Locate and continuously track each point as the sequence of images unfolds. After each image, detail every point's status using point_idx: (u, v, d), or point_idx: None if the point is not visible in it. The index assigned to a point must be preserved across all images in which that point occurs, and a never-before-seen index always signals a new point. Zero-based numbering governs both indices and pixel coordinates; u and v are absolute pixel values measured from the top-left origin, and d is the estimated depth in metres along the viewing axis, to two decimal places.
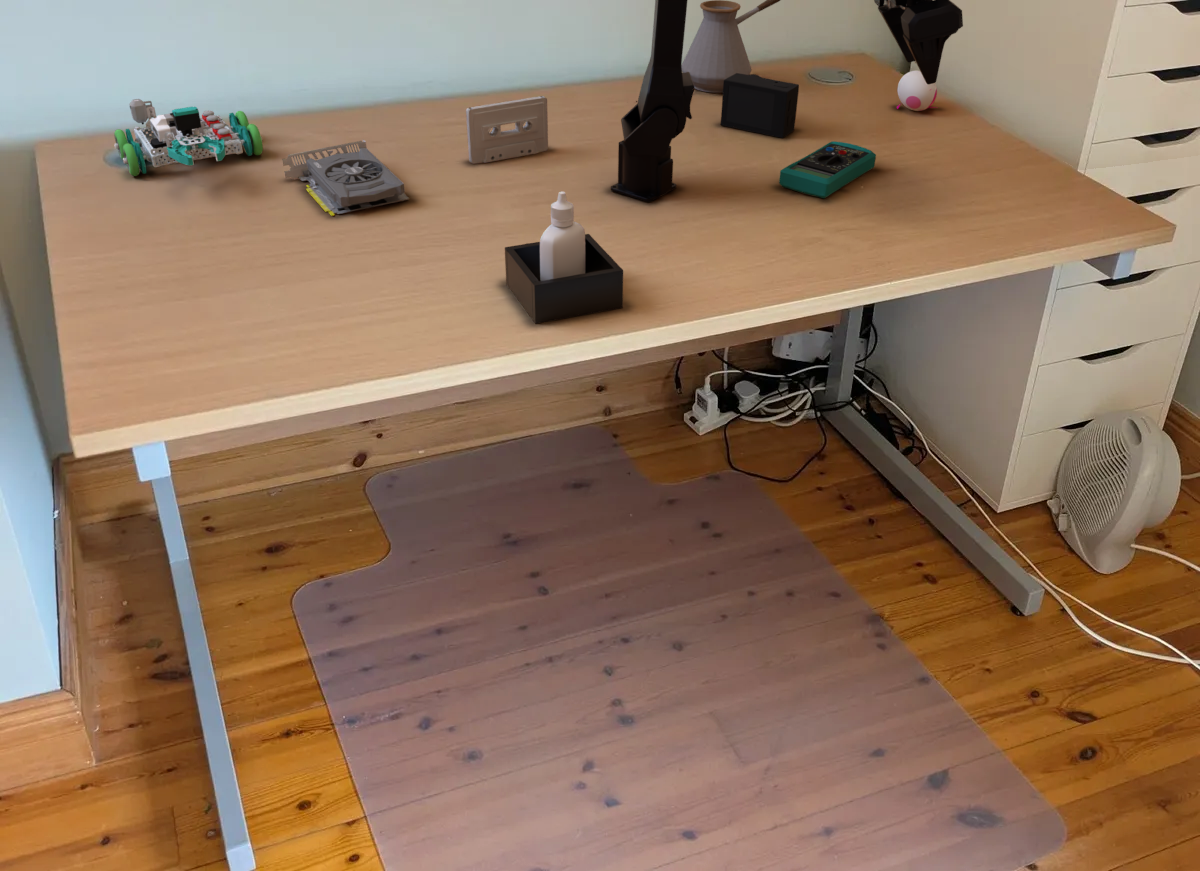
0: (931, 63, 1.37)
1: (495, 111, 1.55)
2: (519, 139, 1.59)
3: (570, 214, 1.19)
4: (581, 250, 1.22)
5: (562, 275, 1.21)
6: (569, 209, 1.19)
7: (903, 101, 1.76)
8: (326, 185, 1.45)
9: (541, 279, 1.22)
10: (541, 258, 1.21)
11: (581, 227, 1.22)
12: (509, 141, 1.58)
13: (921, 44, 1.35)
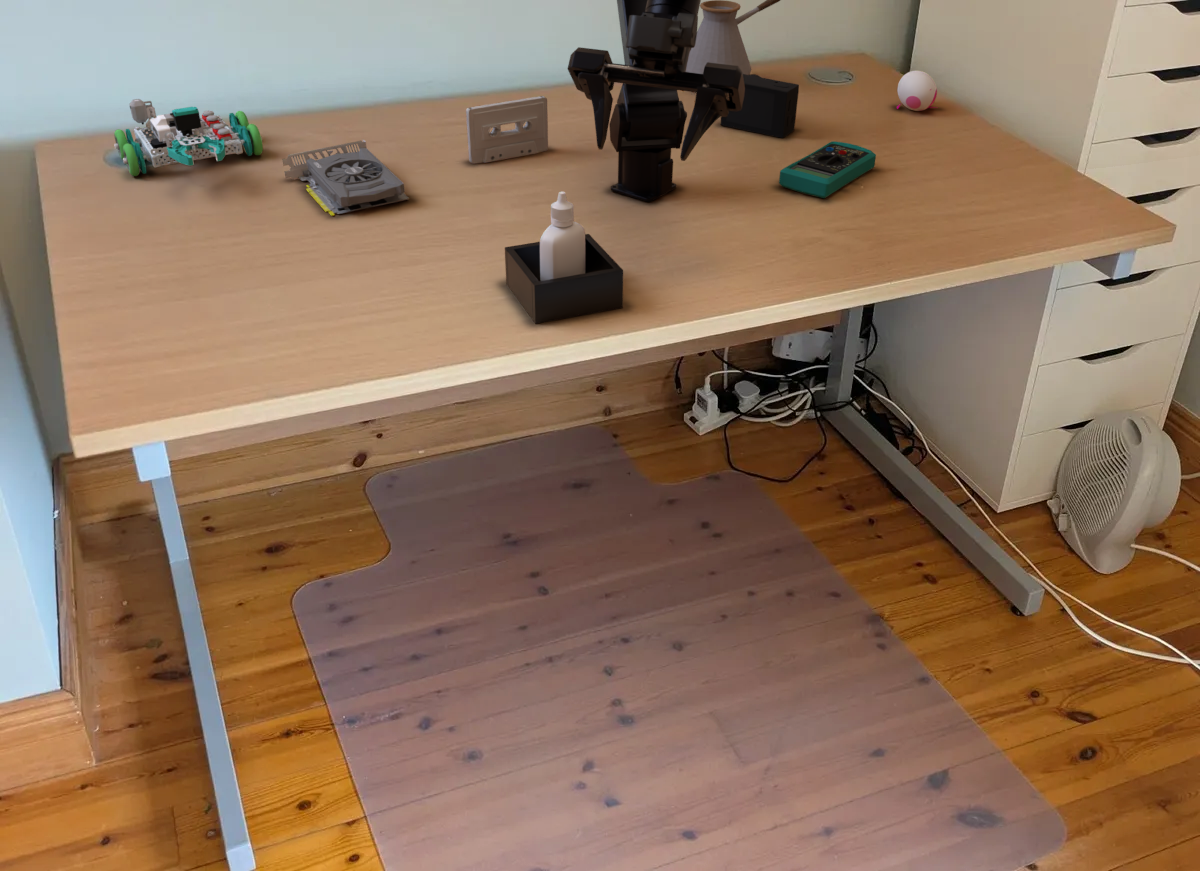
0: None
1: (495, 111, 1.55)
2: (519, 139, 1.59)
3: (570, 214, 1.19)
4: (581, 250, 1.22)
5: (562, 275, 1.21)
6: (569, 209, 1.19)
7: (903, 101, 1.76)
8: (326, 185, 1.45)
9: (541, 279, 1.22)
10: (541, 258, 1.21)
11: (581, 227, 1.22)
12: (509, 141, 1.58)
13: None
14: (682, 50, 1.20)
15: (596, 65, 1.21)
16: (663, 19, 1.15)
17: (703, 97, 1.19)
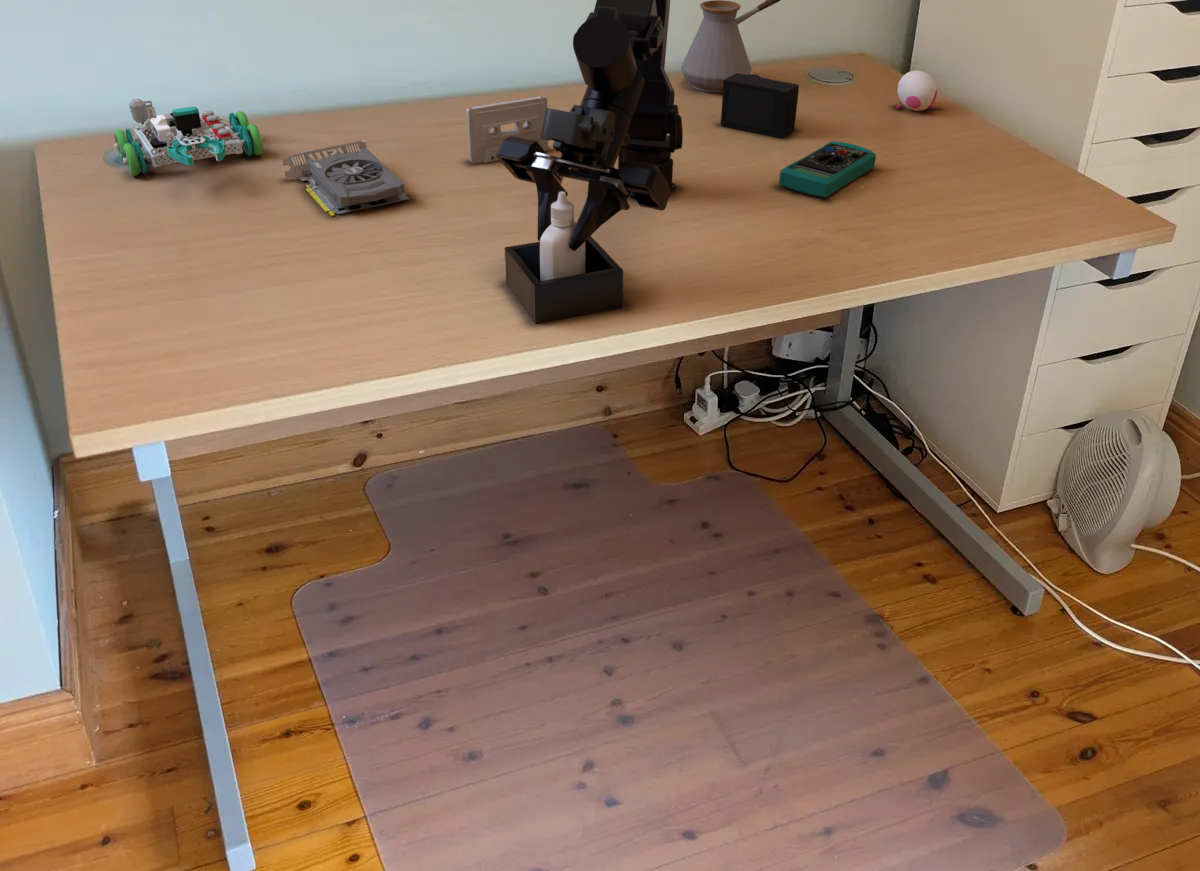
0: None
1: (495, 111, 1.55)
2: None
3: (570, 214, 1.19)
4: (581, 250, 1.22)
5: (562, 275, 1.21)
6: (569, 209, 1.19)
7: (903, 101, 1.76)
8: (326, 185, 1.45)
9: (541, 279, 1.22)
10: (541, 258, 1.21)
11: None
12: None
13: None
14: (603, 145, 1.18)
15: (521, 155, 1.21)
16: (574, 114, 1.14)
17: (594, 189, 1.18)
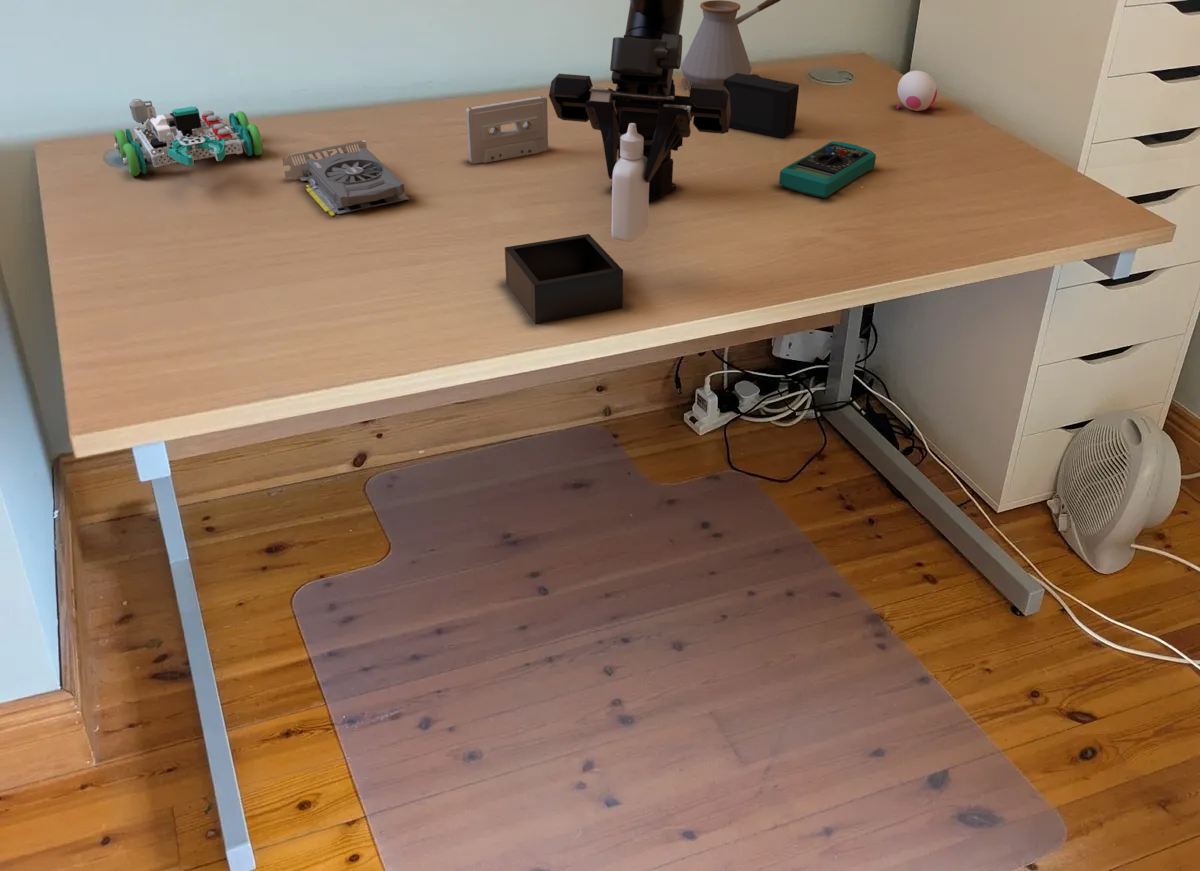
0: None
1: (495, 111, 1.55)
2: (519, 139, 1.59)
3: (642, 145, 1.17)
4: None
5: (637, 209, 1.20)
6: (641, 140, 1.17)
7: (903, 101, 1.76)
8: (326, 185, 1.45)
9: (614, 216, 1.20)
10: (615, 194, 1.18)
11: (647, 159, 1.20)
12: (509, 141, 1.58)
13: None
14: (667, 72, 1.17)
15: (578, 91, 1.18)
16: (648, 40, 1.12)
17: (665, 117, 1.17)
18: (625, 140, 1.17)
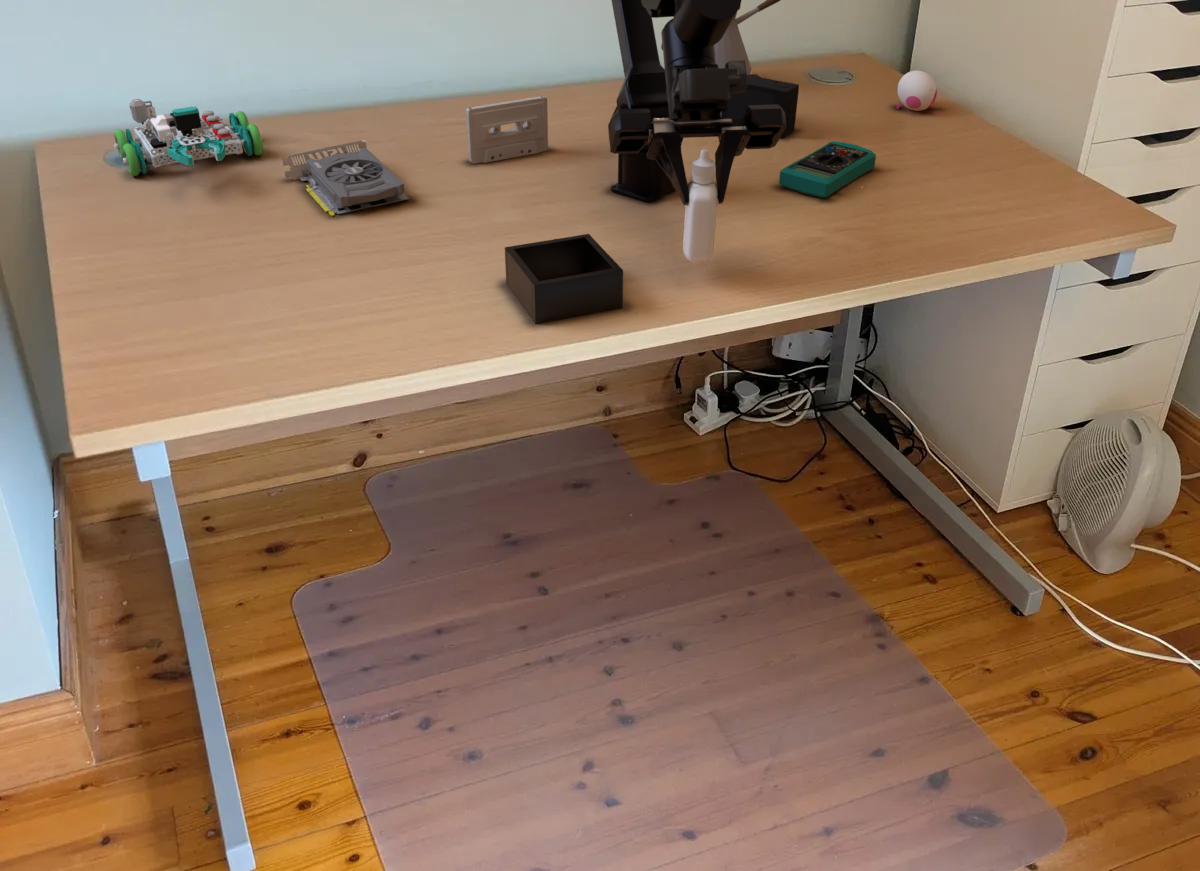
0: (674, 179, 1.23)
1: (495, 111, 1.55)
2: (519, 139, 1.59)
3: (714, 169, 1.22)
4: None
5: (713, 230, 1.24)
6: (714, 164, 1.21)
7: (903, 101, 1.76)
8: (326, 185, 1.45)
9: (693, 240, 1.24)
10: (695, 218, 1.22)
11: None
12: (509, 141, 1.58)
13: (667, 160, 1.24)
14: None
15: (645, 124, 1.21)
16: (721, 69, 1.17)
17: (731, 139, 1.22)
18: (701, 166, 1.21)
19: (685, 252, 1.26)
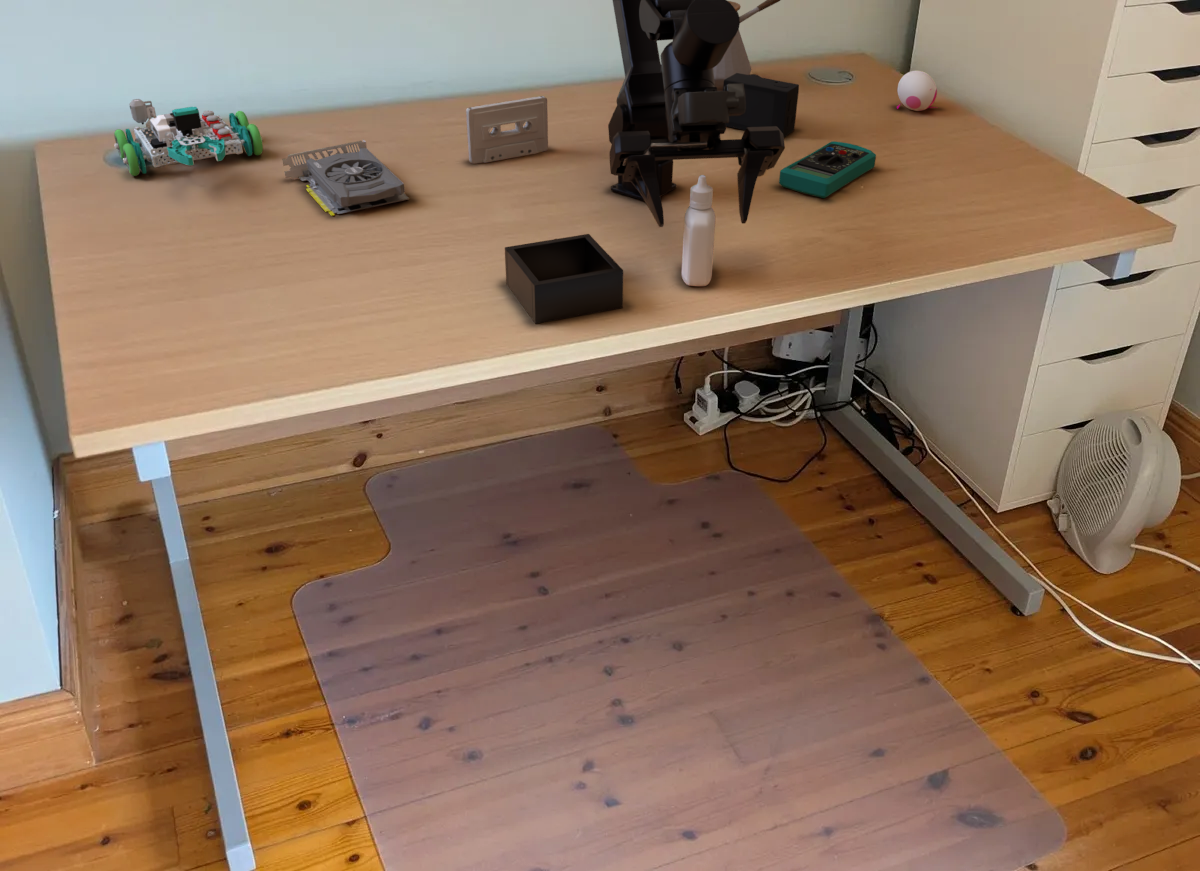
0: (650, 202, 1.24)
1: (495, 111, 1.55)
2: (519, 139, 1.59)
3: (712, 194, 1.24)
4: None
5: (711, 254, 1.26)
6: (712, 190, 1.23)
7: (903, 101, 1.76)
8: (326, 185, 1.45)
9: (691, 264, 1.26)
10: (693, 243, 1.24)
11: None
12: (509, 141, 1.58)
13: (642, 183, 1.25)
14: None
15: (645, 146, 1.22)
16: (720, 92, 1.18)
17: (754, 160, 1.23)
18: (699, 192, 1.22)
19: (684, 276, 1.28)
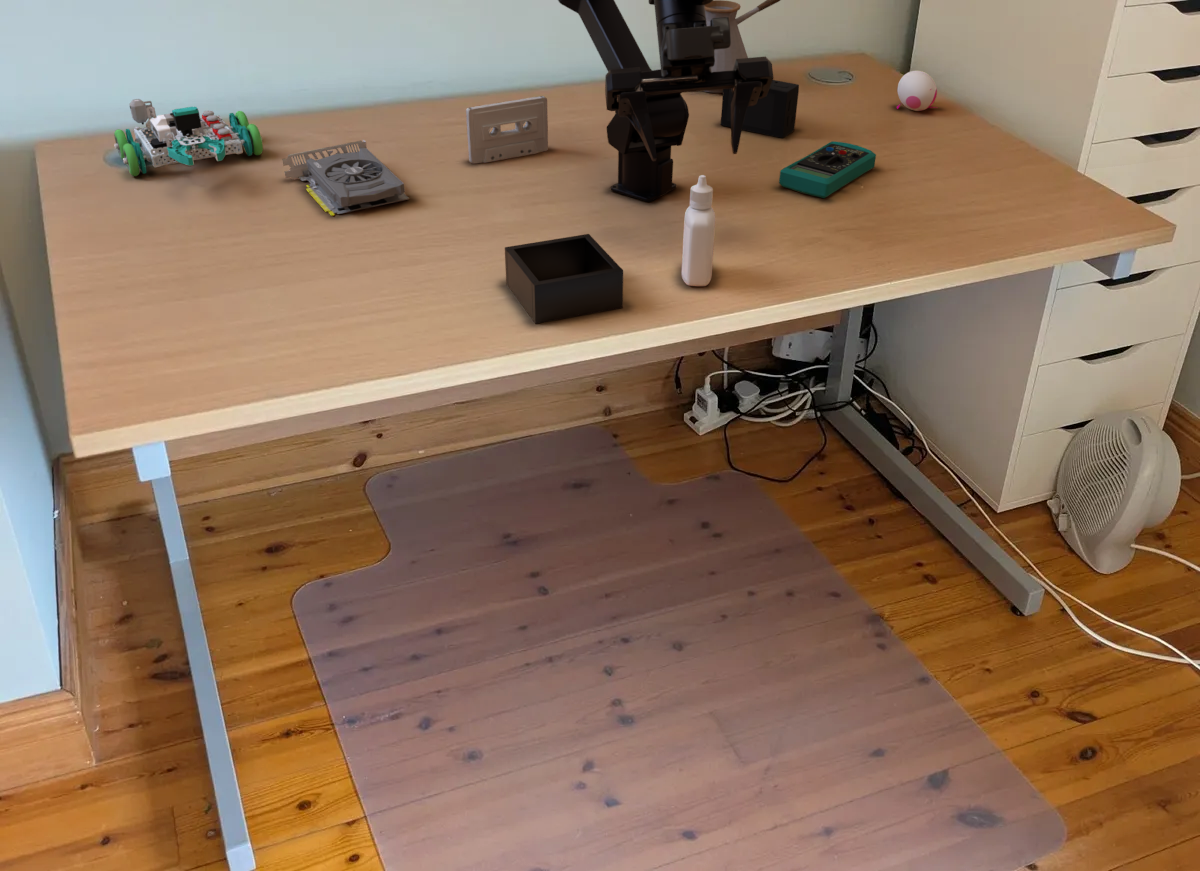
0: (643, 136, 1.29)
1: (495, 111, 1.55)
2: (519, 139, 1.59)
3: (712, 195, 1.24)
4: None
5: (711, 254, 1.26)
6: (712, 190, 1.23)
7: (903, 101, 1.76)
8: (326, 185, 1.45)
9: (691, 264, 1.26)
10: (693, 243, 1.24)
11: None
12: (509, 141, 1.58)
13: (636, 118, 1.30)
14: None
15: (636, 83, 1.26)
16: (704, 27, 1.21)
17: (743, 91, 1.27)
18: (699, 192, 1.22)
19: (684, 276, 1.28)
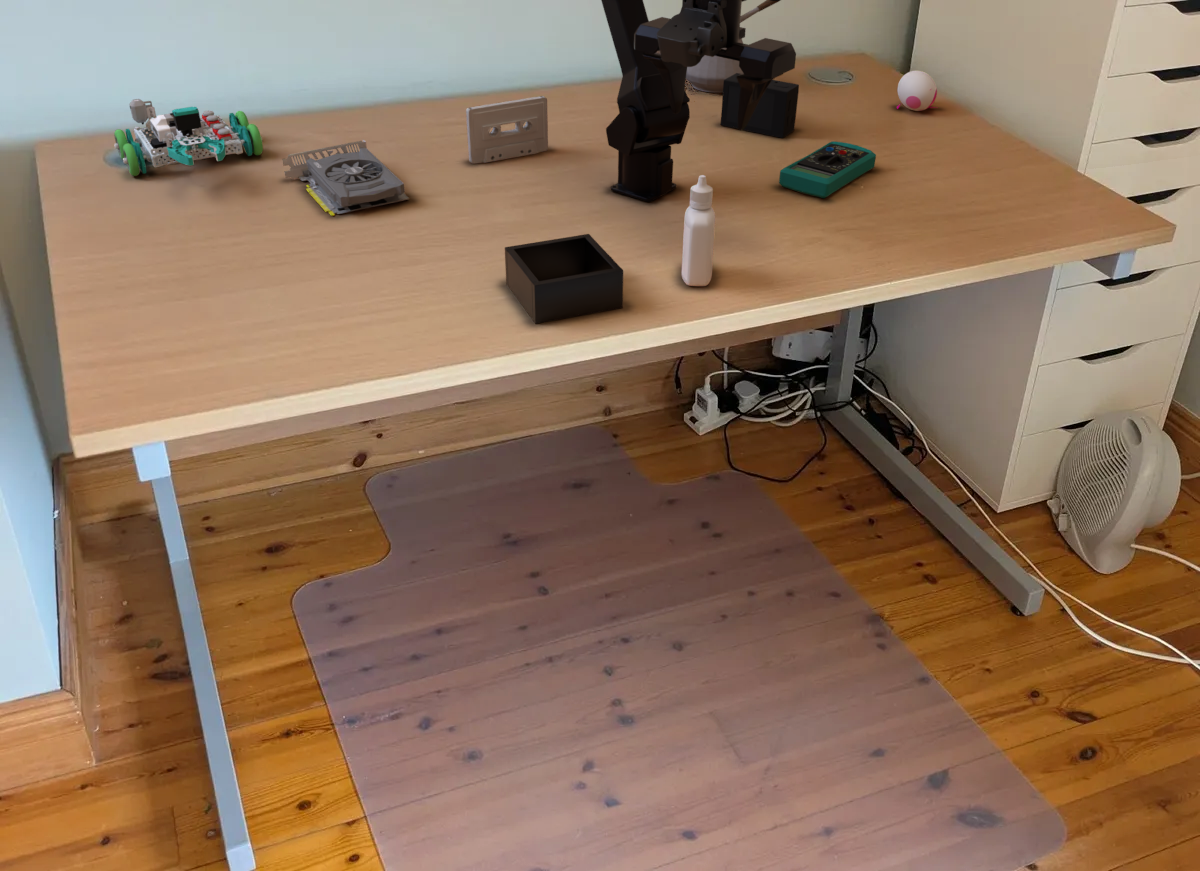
0: None
1: (495, 111, 1.55)
2: (519, 139, 1.59)
3: (712, 194, 1.24)
4: None
5: (711, 254, 1.26)
6: (712, 190, 1.23)
7: (903, 101, 1.76)
8: (326, 185, 1.45)
9: (691, 264, 1.26)
10: (693, 243, 1.24)
11: None
12: (509, 141, 1.58)
13: None
14: None
15: (653, 49, 1.31)
16: (681, 42, 1.22)
17: (744, 83, 1.26)
18: (699, 192, 1.22)
19: (684, 276, 1.28)
